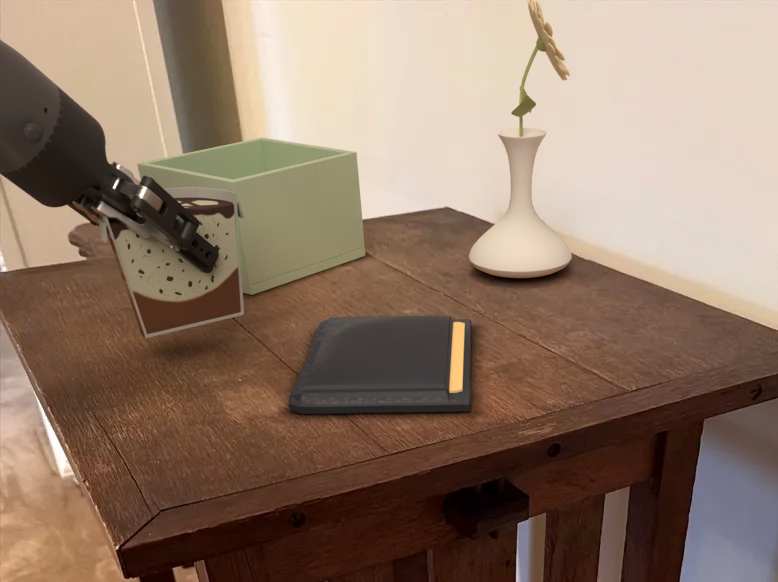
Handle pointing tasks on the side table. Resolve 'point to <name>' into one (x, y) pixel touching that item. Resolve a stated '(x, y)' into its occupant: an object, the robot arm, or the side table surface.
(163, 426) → the side table surface
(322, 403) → the wallet
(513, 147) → the flower in vase
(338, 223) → the bin
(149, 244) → the food container
